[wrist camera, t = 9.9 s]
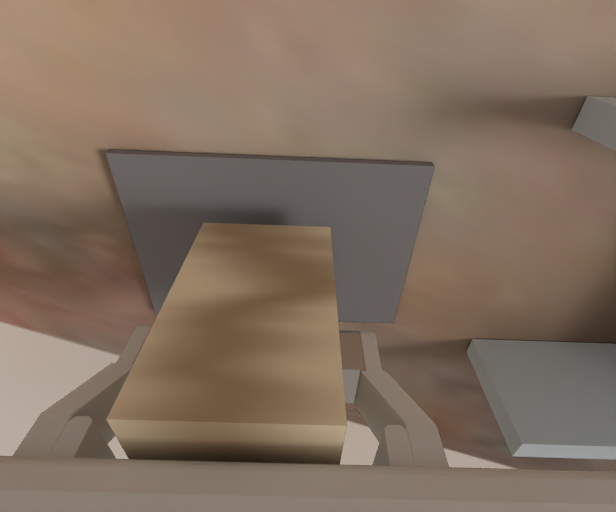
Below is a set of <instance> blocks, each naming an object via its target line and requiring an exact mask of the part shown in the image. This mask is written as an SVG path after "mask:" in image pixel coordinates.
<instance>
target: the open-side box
mask: <svg viewBox="0 0 616 512" xmlns="http://www.w3.org/2000/svg"><path fill="white" fill-rule="evenodd" d="M572 130H573V131H575V132H577V133H579V134H581V135H583V136H585V137H587V138H589V139H591V140H593V141H595V142H597V143H599V144H601V145H603V146H606V147H608V148H610V149H612V150H614V151H616V97H597V96H587V98H586V100H585V102H584V104H583V107H582V109H581V111H580V113H579V115H578V117H577V119H576V121H575V123H574V126H573V128H572ZM466 353H467V355H468V357H469V359H470V362H471V364H472V366H473V369H474V371H475V373H476V375H477V378H478V380H479V382H480V384H481V387H482V389H483V391H484V393H485V396H486V398H487V400H488V403H489V405H490V407H491V409H492V412H493V414H494V416H495V418H496V421H497V423H498V425H499V427H500V430H501V432H502V434H503V437H504V439H505V441H506V443H507V446H508V448H509V450H510V452H511V455H512V456H513V457H547V458H582V459H616V344H609V343H579V342H549V341H519V340H489V339H472V341H471V343H470V345H469V347H468V350H467V352H466Z"/></svg>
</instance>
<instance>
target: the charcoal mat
mask: <svg viewBox="0 0 616 512" xmlns="http://www.w3.org/2000/svg"><path fill="white" fill-rule="evenodd" d="M105 154H106V157H107V160H108V163H109V166H110V170H111V173H112V176H113V179H114V182H115V186H116V189H117V192H118V195H119V199H120V202H121V205H122V208H123V211H124V215H125V218H126V221H127V224H128V227H129V231H130V234H131V237H132V240H133V243H134V247H135V250H136V253H137V256H138V260H139V263H140V266H141V269H142V272H143V276H144V279H145V282H146V285H147V288H148V292H149V295H150V298H151V301H152V305H153V308H154V311H155V314H156V315H158V314H159V312H160V310H161V308H162V306H163V304H164V302H165V300H166V298H167V295H168V293H169V291H170V289H171V287H172V285H173V283H174V281H175V279H176V277H177V275H178V273H179V271H180V269H181V267H182V265H183V263H184V261H185V259H186V257H187V255H188V253H189V251H190V249H191V247H192V245H193V243H194V241H195V239H196V237H197V235H198V233H199V231H200V229H201V227H202V225H203V223H230V224H258V225H286V226H314V227H330V229H331V241H332V253H333V265H334V277H335V288H336V300H337V312H338V322H367V323H394V320H395V316H396V312H397V308H398V305H399V301H400V297H401V293H402V289H403V285H404V282H405V278H406V274H407V270H408V266H409V263H410V259H411V255H412V251H413V247H414V244H415V240H416V236H417V232H418V228H419V225H420V221H421V217H422V213H423V209H424V205H425V202H426V198H427V194H428V190H429V186H430V183H431V179H432V175H433V171H434V167H435V166H434V164H433V163H432V162H407V161H382V160H357V159H333V158H308V157H283V156H258V155H233V154H208V153H183V152H158V151H134V150H109V151H107V152H106V153H105Z"/></svg>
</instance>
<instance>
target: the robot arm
mask: <svg viewBox="0 0 616 512" xmlns="http://www.w3.org/2000/svg"><path fill="white" fill-rule="evenodd" d="M152 326H153V325H145V324H139V325H138V326H137V327H136V328H135V330H134V332H133V334H132V335H131V337H130V339H129V341H128V343H127V344H126V346H125V348H124V350H123V352H122V354H121V355H120V357H119V359H118V361H117V363H111V364H110V365H109V366H107V367H106V368H104V369H103V370H102V371H100V372H99V373H97V374H96V375H95V376H93V377H92V378H90V379H89V380H87V381H86V382H85V383H83V384H82V385H80V386H79V387H78V388H76V389H75V390H73V391H72V392H71V393H69V394H68V395H66V396H65V397H64V398H62V399H61V400H59V401H58V402H57V403H55V404H54V405H52V406H51V407H50V408H48V409H47V410H45V411H44V412H42V413H41V414H40V416H39V417H38V419H37V420H36V422H35V423H34V425H33V426H32V428H31V429H30V431H29V432H28V434H27V435H26V437H25V438H24V440H23V441H22V443H21V444H20V446H19V447H18V449H17V450H16V452H15V453H14V455H13V456H0V512H616V472H609V471H570V470H531V469H491V468H490V469H489V468H452V467H449V466H448V462H447V459H446V456H445V452H444V449H443V445H442V442H441V439H440V435H439V432H438V429H437V425H436V424H435V423H434V422H433V421H432V420H431V419H430V418H429V417H428V415H427V414H426V413H425V412H424V411H423V410H422V409H421V408H420V407H419V406H418V405H417V404H416V403H415V401H414V400H413V399H412V398H411V397H410V396H409V395H408V394H407V393H406V392H405V391H404V390H403V389H402V387H401V386H400V385H399V384H398V383H397V382H396V381H395V380H394V379H393V378H392V377H391V376H390V375H389V373H388V372H387V371H382V367H381V362H380V357H379V352H378V347H377V341H376V336H375V333H374V332H366V331H339V336H340V348H341V360H342V372H343V384H344V396H345V403H355V404H354V405H355V406H356V408H357V409H358V411H359V412H360V414H361V415H362V417H363V418H364V420H365V421H366V423H367V424H368V426H369V428H370V429H371V431H372V432H373V433H374V435H375V437H376V438H377V440H378V441H379V443H380V444H379V447H378V450H377V453H376V456H375V459H374V462H373V465H334V464H296V463H258V462H219V461H179V460H140V459H116V458H115V456H114V454H113V453H112V451H111V449H110V448H109V446H108V445H107V444H108V443H109V442H110V441H111V440H112V438H113V437H114V436H115V434H114V432H113V430H112V428H111V427H110V425H109V423H108V421H107V420H106V419H107V417H108V415H109V413H110V411H111V409H112V407H113V405H114V403H115V401H116V399H117V397H118V395H119V393H120V391H121V389H122V387H123V385H124V382H125V380H126V378H127V376H128V374H129V372H130V370H131V368H132V366H133V364H134V362H135V360H136V358H137V356H138V354H139V352H140V350H141V348H142V346H143V344H144V342H145V340H146V338H147V336H148V334H149V332H150V330H151V328H152Z"/></svg>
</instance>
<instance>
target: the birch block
mask: <svg viewBox="0 0 616 512" xmlns="http://www.w3.org/2000/svg"><path fill="white" fill-rule="evenodd" d="M106 420H107V421H108V423H109V425H110V427H111V428H112V430H113V432H114V434H115V435H116V437H117V439H118V441H119V442H120V444H121V446H122V448H123V449H124V451H125V453H126V455H127V456H128V458H129V459H140V460H179V461H219V462H258V463H296V464H334V465H339V464H340V459H341V454H342V449H343V444H344V439H345V434H346V428H347V420H346V408H345V396H344V384H343V372H342V360H341V348H340V336H339V324H338V312H337V300H336V288H335V277H334V265H333V253H332V241H331V229H330V227H314V226H286V225H258V224H230V223H203V225H202V227H201V229H200V231H199V233H198V235H197V237H196V239H195V241H194V243H193V245H192V247H191V249H190V251H189V253H188V255H187V257H186V259H185V261H184V263H183V265H182V267H181V269H180V271H179V273H178V275H177V277H176V279H175V281H174V283H173V285H172V287H171V289H170V291H169V293H168V295H167V298H166V300H165V302H164V304H163V306H162V308H161V310H160V312H159V314H158V316H157V318H156V320H155V322H154V324H153V326H152V328H151V330H150V332H149V334H148V336H147V338H146V340H145V342H144V344H143V346H142V348H141V350H140V352H139V354H138V356H137V358H136V360H135V362H134V364H133V366H132V368H131V370H130V372H129V374H128V376H127V378H126V380H125V382H124V385H123V387H122V389H121V391H120V393H119V395H118V397H117V399H116V401H115V403H114V405H113V407H112V409H111V411H110V413H109V415H108V417H107V419H106Z"/></svg>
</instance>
